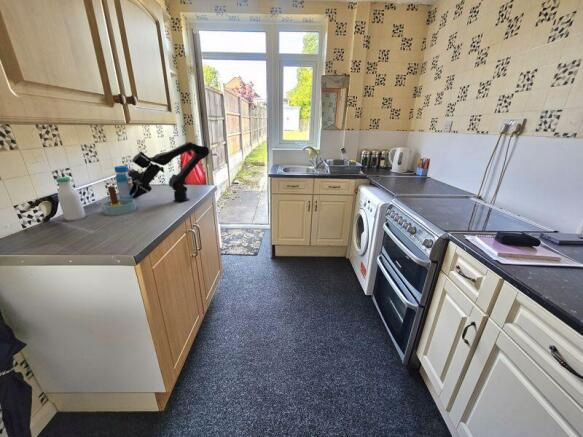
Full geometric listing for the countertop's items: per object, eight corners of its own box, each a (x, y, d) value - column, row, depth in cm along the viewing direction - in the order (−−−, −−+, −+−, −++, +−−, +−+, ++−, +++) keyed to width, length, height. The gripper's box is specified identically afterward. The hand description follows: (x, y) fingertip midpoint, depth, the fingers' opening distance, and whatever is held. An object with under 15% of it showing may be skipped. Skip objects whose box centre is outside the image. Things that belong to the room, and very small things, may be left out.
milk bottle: (89, 217, 122) (77, 177, 115) (70, 222, 115) (57, 180, 108) (80, 214, 125) (68, 175, 118) (62, 219, 118) (47, 178, 111)
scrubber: (118, 209, 132) (113, 185, 127) (123, 210, 130) (118, 186, 126) (110, 211, 128) (103, 187, 124) (115, 212, 126) (108, 188, 122)
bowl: (124, 205, 139) (122, 197, 138) (142, 209, 134) (140, 200, 132) (97, 213, 127) (94, 204, 125) (115, 217, 121) (113, 208, 120)
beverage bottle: (121, 201, 146) (113, 168, 139) (119, 198, 152) (111, 166, 145) (137, 199, 151) (130, 166, 144) (134, 196, 157) (128, 165, 150)
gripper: (132, 161, 135) (113, 184, 133) (139, 166, 122) (118, 191, 120) (150, 174, 143) (133, 195, 140) (159, 179, 130) (140, 203, 127)
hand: (131, 196), depth 132 cm, fingers open, 9 cm apart
